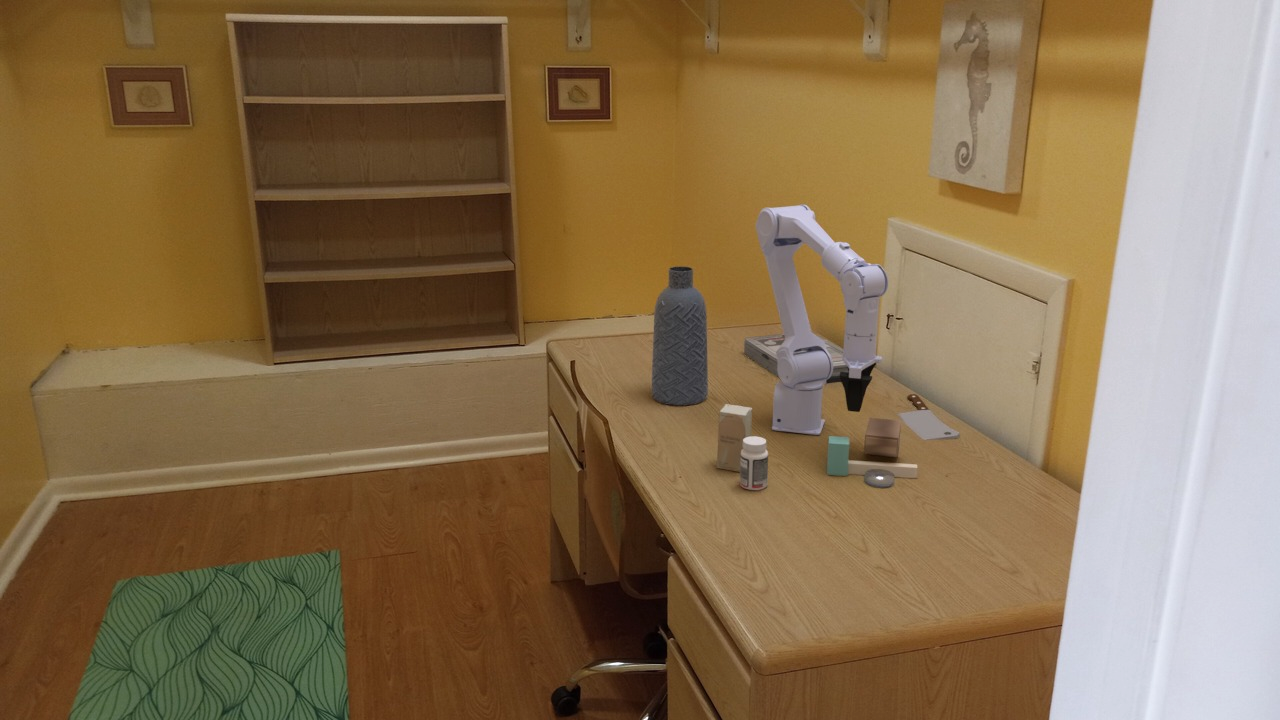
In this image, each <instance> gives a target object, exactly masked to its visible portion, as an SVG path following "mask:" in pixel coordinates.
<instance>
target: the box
mask: <svg viewBox="0 0 1280 720" xmlns="http://www.w3.org/2000/svg"><path fill="white" fill-rule="evenodd" d="M752 415H753V408H752V407H749V406H742V405H737V404H736V405H735V404H729V403H727V404H726V403H725V404H724V405H723V407H722V408H721V409H720V410H719V417H718V418H719V419H718V435H717V436H718V437H717V455H716V456H717V457H716V468H717V469H721V470H727V471H734V472H737V473H738V472H740V460H741V451H742V449H743V439H744V438H746V437H750V436H751V435H752V434H751V433H752V420H753V419H752V418H753V417H752Z"/></svg>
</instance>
